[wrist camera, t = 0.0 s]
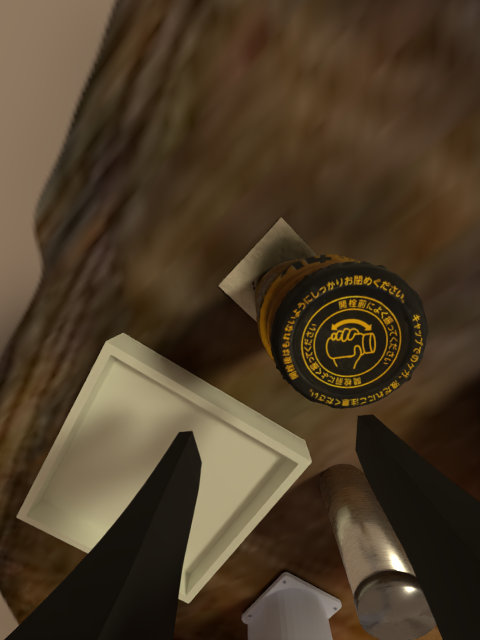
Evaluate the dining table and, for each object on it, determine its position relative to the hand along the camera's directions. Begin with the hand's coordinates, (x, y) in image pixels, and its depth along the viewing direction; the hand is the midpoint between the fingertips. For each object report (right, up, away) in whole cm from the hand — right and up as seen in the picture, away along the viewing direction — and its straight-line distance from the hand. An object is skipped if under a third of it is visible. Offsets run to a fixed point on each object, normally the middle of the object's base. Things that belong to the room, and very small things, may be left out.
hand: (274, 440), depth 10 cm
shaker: (+9, -11, +13) cm, 19 cm away
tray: (-10, -10, +14) cm, 19 cm away
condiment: (+2, +8, +9) cm, 12 cm away
